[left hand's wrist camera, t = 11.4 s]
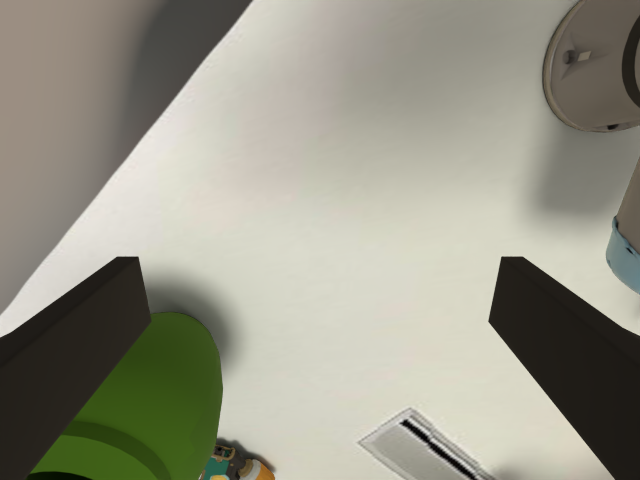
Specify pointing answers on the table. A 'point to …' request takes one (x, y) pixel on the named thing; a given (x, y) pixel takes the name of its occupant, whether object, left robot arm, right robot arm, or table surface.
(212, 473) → the spray gun
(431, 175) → the table surface
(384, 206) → the table surface
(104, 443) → the vase
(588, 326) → the left robot arm
